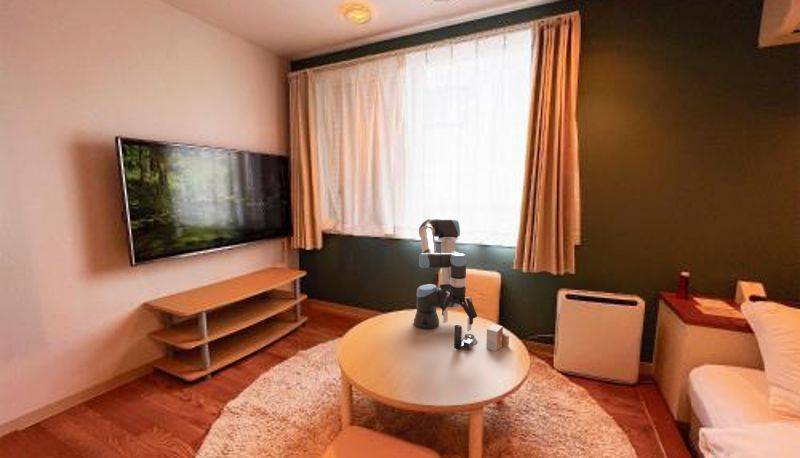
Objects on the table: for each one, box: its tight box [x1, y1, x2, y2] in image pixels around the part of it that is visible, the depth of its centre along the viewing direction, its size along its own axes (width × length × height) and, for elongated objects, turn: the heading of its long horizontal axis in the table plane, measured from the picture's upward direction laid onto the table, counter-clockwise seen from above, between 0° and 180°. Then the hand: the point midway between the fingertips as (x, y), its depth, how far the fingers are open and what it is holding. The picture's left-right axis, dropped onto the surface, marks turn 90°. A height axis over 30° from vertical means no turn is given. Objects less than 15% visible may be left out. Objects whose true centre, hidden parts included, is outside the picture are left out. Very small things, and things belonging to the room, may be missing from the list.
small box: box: [485, 323, 504, 352], centre depth 167 cm, size 8×6×10 cm
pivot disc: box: [462, 336, 478, 345], centre depth 174 cm, size 8×8×1 cm
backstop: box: [502, 332, 510, 348], centre depth 171 cm, size 8×2×6 cm, turn 34°
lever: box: [453, 324, 475, 351], centre depth 168 cm, size 17×7×12 cm, turn 142°
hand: (457, 325), depth 163 cm, fingers open, 13 cm apart
